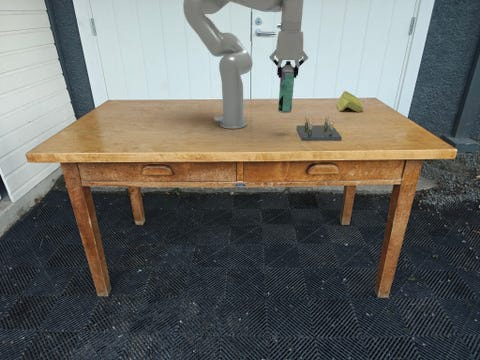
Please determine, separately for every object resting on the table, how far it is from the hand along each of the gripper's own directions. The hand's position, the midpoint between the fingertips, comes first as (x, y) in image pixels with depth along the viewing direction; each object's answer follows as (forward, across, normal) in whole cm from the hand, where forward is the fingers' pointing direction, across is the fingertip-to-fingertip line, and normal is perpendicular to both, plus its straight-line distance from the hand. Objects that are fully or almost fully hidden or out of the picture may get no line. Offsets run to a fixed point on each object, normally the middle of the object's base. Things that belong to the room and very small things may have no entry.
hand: (287, 76), depth 127 cm
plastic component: (+24, +42, +44) cm, 65 cm away
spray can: (+14, 0, 0) cm, 14 cm away
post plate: (+24, +15, -1) cm, 28 cm away
